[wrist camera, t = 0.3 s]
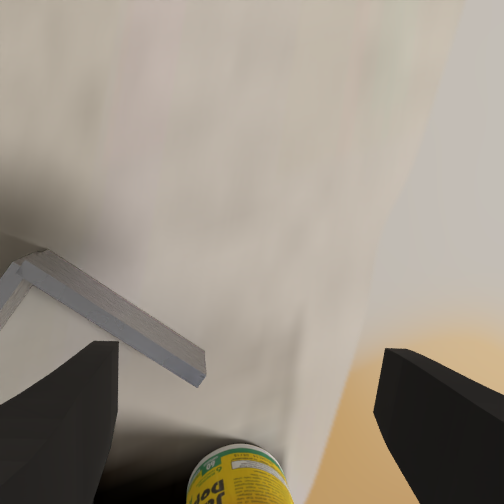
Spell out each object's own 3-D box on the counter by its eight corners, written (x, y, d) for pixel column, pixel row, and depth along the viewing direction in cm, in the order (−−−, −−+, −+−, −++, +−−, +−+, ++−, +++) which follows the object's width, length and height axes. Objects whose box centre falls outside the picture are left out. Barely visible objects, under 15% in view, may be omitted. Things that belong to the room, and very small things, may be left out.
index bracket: (86, 510, 23) (71, 557, 20) (-83, 420, 22) (-126, 457, 19) (204, 351, 23) (206, 375, 20) (41, 244, 21) (17, 254, 18)
